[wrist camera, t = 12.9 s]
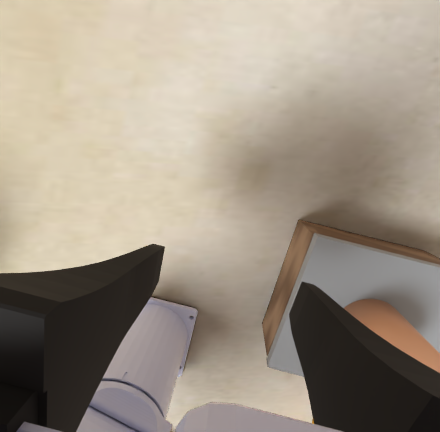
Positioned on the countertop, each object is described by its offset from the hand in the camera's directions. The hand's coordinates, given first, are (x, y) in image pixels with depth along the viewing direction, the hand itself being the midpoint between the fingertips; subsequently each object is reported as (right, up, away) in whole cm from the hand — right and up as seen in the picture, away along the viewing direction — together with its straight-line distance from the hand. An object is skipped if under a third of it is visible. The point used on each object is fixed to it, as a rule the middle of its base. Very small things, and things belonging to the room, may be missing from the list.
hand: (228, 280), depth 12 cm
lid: (+11, -5, +7) cm, 14 cm away
